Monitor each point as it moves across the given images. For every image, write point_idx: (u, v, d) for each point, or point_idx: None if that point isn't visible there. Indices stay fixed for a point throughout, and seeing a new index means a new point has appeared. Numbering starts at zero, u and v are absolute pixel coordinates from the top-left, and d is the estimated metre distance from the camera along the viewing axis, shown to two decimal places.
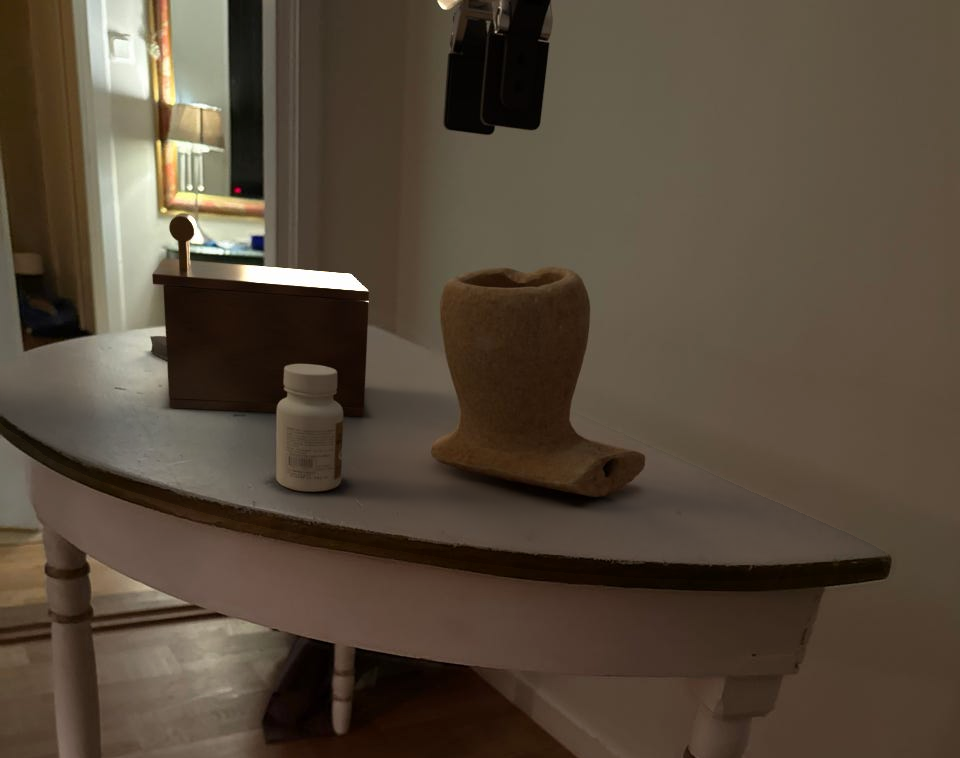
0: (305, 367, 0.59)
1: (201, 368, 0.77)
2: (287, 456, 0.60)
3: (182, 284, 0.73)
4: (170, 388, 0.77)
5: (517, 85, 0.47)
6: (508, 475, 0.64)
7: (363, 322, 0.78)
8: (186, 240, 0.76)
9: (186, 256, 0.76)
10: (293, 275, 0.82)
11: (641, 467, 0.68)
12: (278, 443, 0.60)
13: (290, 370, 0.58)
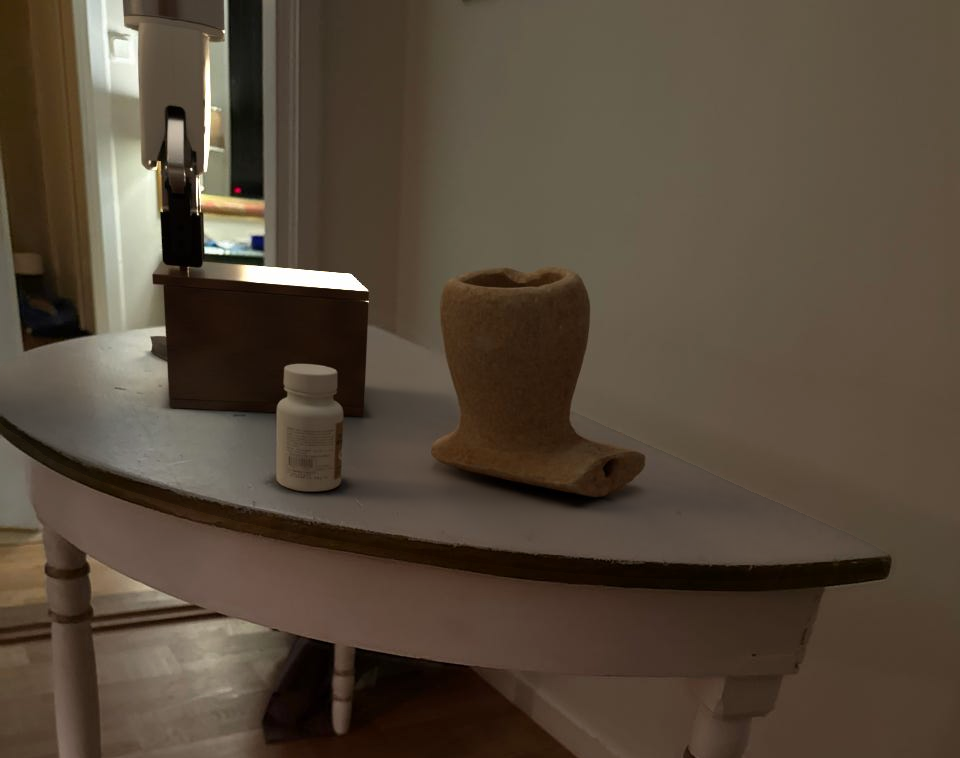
0: (305, 367, 0.59)
1: (201, 368, 0.77)
2: (287, 456, 0.60)
3: (182, 284, 0.73)
4: (170, 388, 0.77)
5: (181, 242, 0.75)
6: (508, 475, 0.64)
7: (363, 322, 0.78)
8: None
9: None
10: (293, 275, 0.82)
11: (641, 467, 0.68)
12: (278, 443, 0.60)
13: (290, 370, 0.58)
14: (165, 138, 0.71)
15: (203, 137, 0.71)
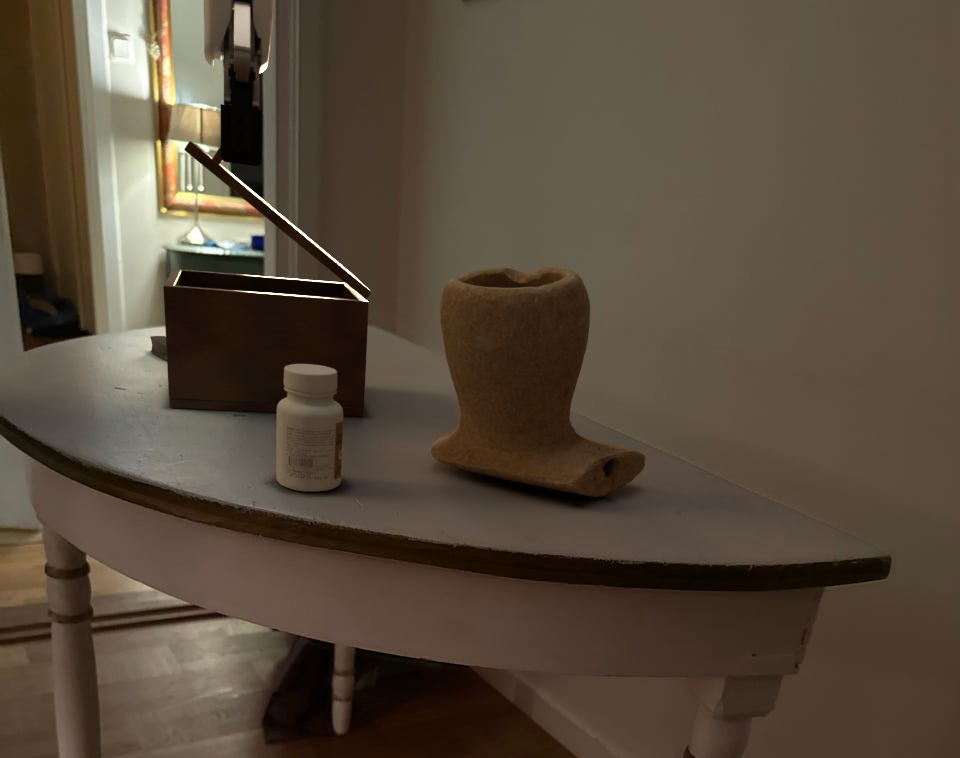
0: (305, 367, 0.59)
1: (201, 368, 0.77)
2: (287, 456, 0.60)
3: (211, 169, 0.70)
4: (170, 388, 0.77)
5: (241, 137, 0.72)
6: (508, 475, 0.64)
7: (363, 322, 0.78)
8: None
9: None
10: None
11: (641, 467, 0.68)
12: (278, 443, 0.60)
13: (290, 370, 0.58)
14: (230, 23, 0.68)
15: (269, 24, 0.69)
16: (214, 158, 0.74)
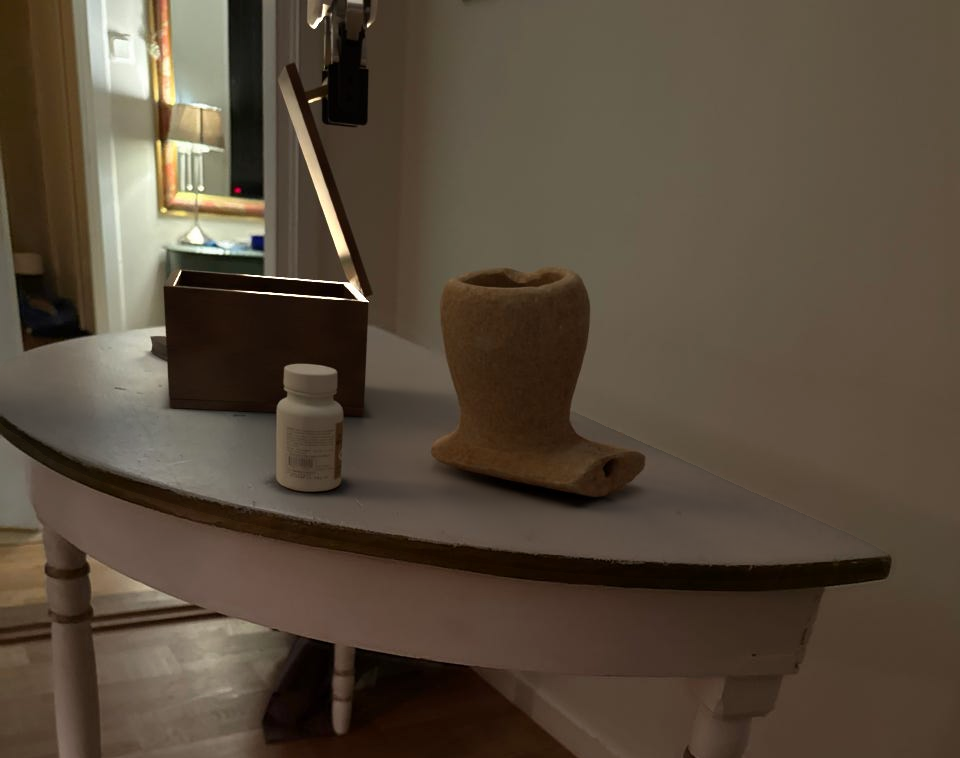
0: (305, 367, 0.59)
1: (201, 368, 0.77)
2: (287, 456, 0.60)
3: (298, 98, 0.69)
4: (170, 388, 0.77)
5: (348, 97, 0.73)
6: (508, 475, 0.64)
7: (363, 322, 0.78)
8: None
9: (316, 97, 0.73)
10: None
11: (641, 467, 0.68)
12: (278, 443, 0.60)
13: (290, 370, 0.58)
14: None
15: None
16: None
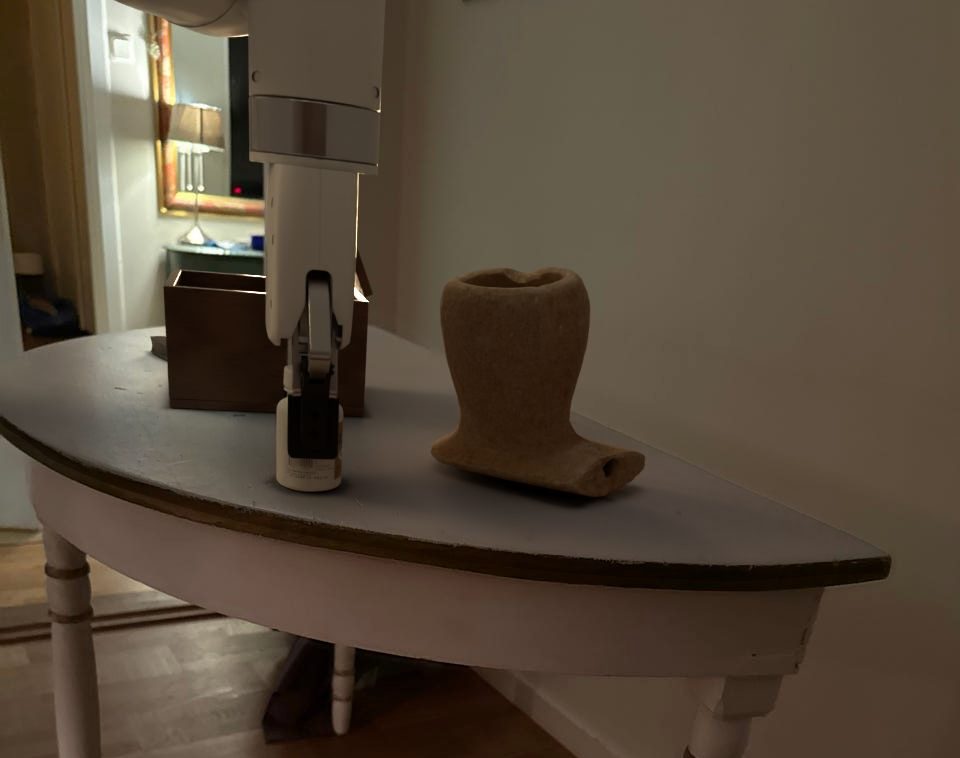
0: None
1: (201, 368, 0.77)
2: (287, 456, 0.60)
3: None
4: (170, 388, 0.77)
5: (313, 432, 0.58)
6: (508, 475, 0.64)
7: (363, 322, 0.78)
8: None
9: None
10: None
11: (641, 467, 0.68)
12: (278, 443, 0.60)
13: (290, 370, 0.58)
14: (303, 309, 0.53)
15: (352, 306, 0.54)
16: None
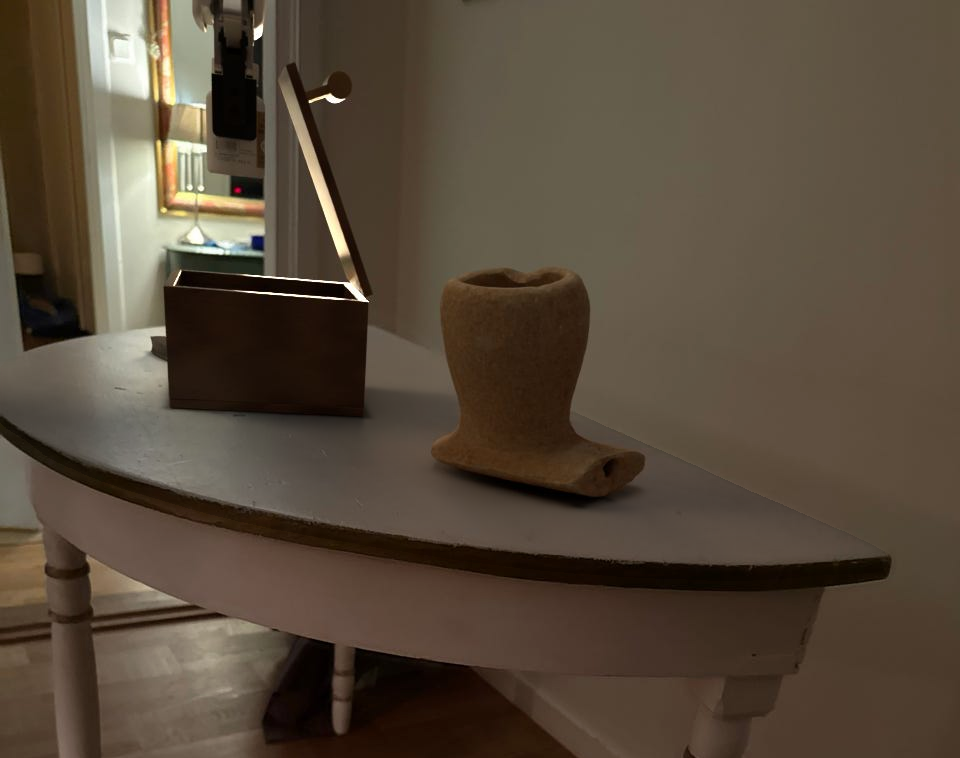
0: None
1: (201, 368, 0.77)
2: (214, 139, 0.69)
3: (298, 98, 0.69)
4: (170, 388, 0.77)
5: (234, 109, 0.67)
6: (508, 475, 0.64)
7: (363, 322, 0.78)
8: (331, 93, 0.73)
9: (316, 97, 0.73)
10: None
11: (641, 467, 0.68)
12: (207, 130, 0.69)
13: None
14: None
15: None
16: None
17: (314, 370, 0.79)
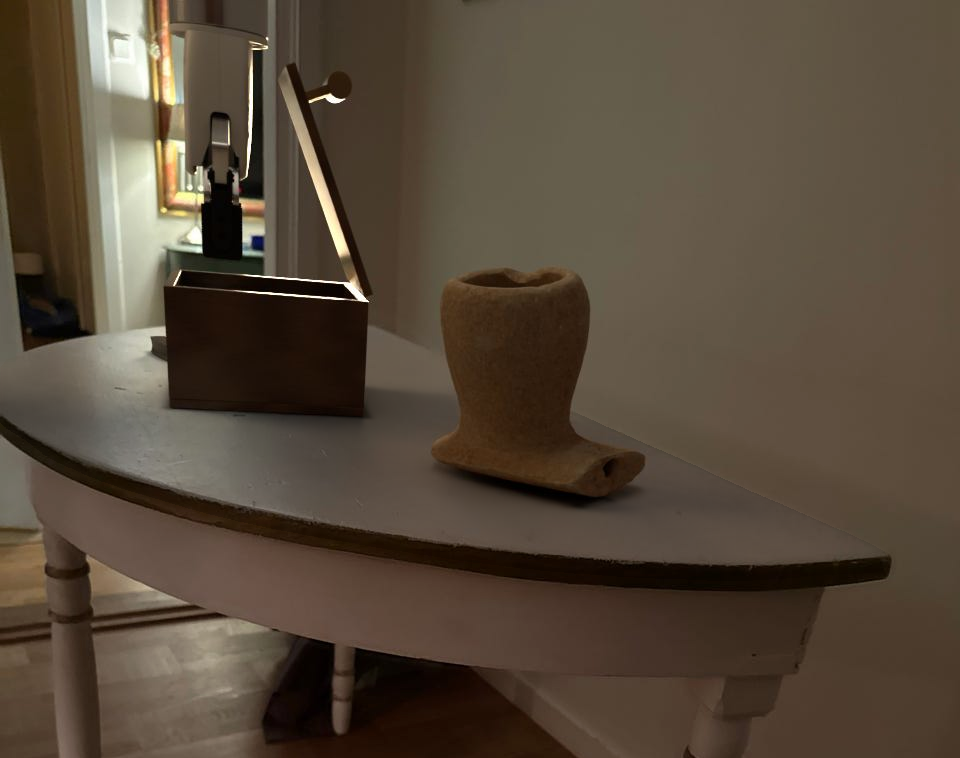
0: None
1: (201, 368, 0.77)
2: None
3: (298, 98, 0.69)
4: (170, 388, 0.77)
5: (222, 234, 0.73)
6: (508, 475, 0.64)
7: (363, 322, 0.78)
8: (331, 93, 0.73)
9: (316, 97, 0.73)
10: None
11: (641, 467, 0.68)
12: None
13: None
14: (209, 144, 0.71)
15: (247, 143, 0.72)
16: None
17: (314, 370, 0.79)
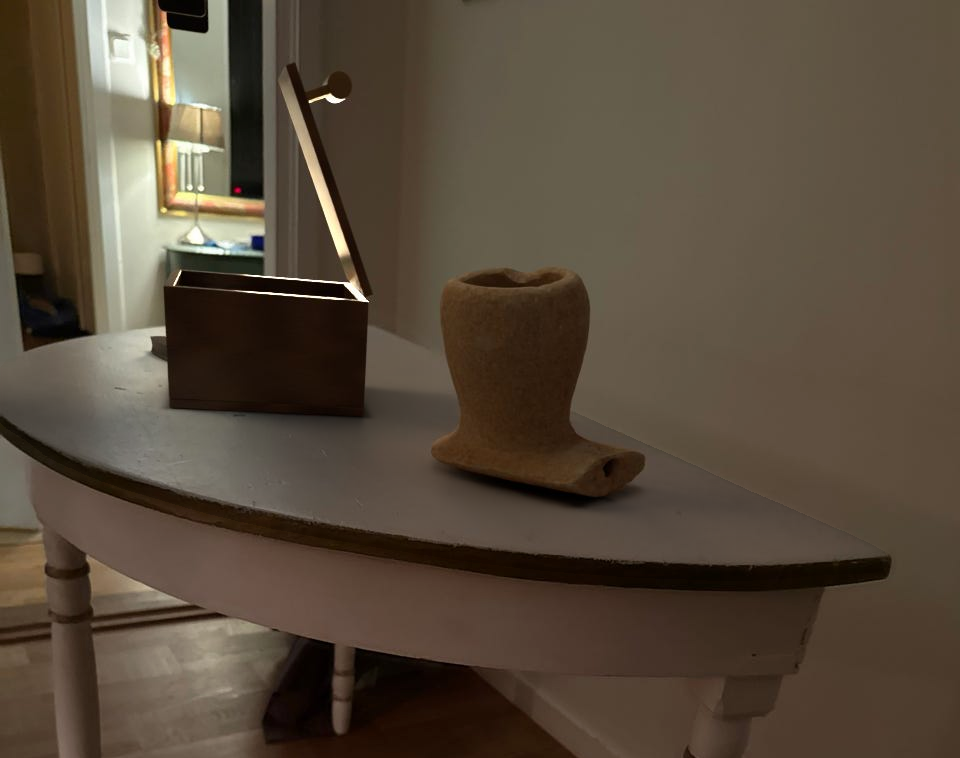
0: None
1: (201, 368, 0.77)
2: None
3: (298, 98, 0.69)
4: (170, 388, 0.77)
5: None
6: (508, 475, 0.64)
7: (363, 322, 0.78)
8: (331, 93, 0.73)
9: (316, 97, 0.73)
10: None
11: (641, 467, 0.68)
12: None
13: None
14: None
15: None
16: None
17: (314, 370, 0.79)
